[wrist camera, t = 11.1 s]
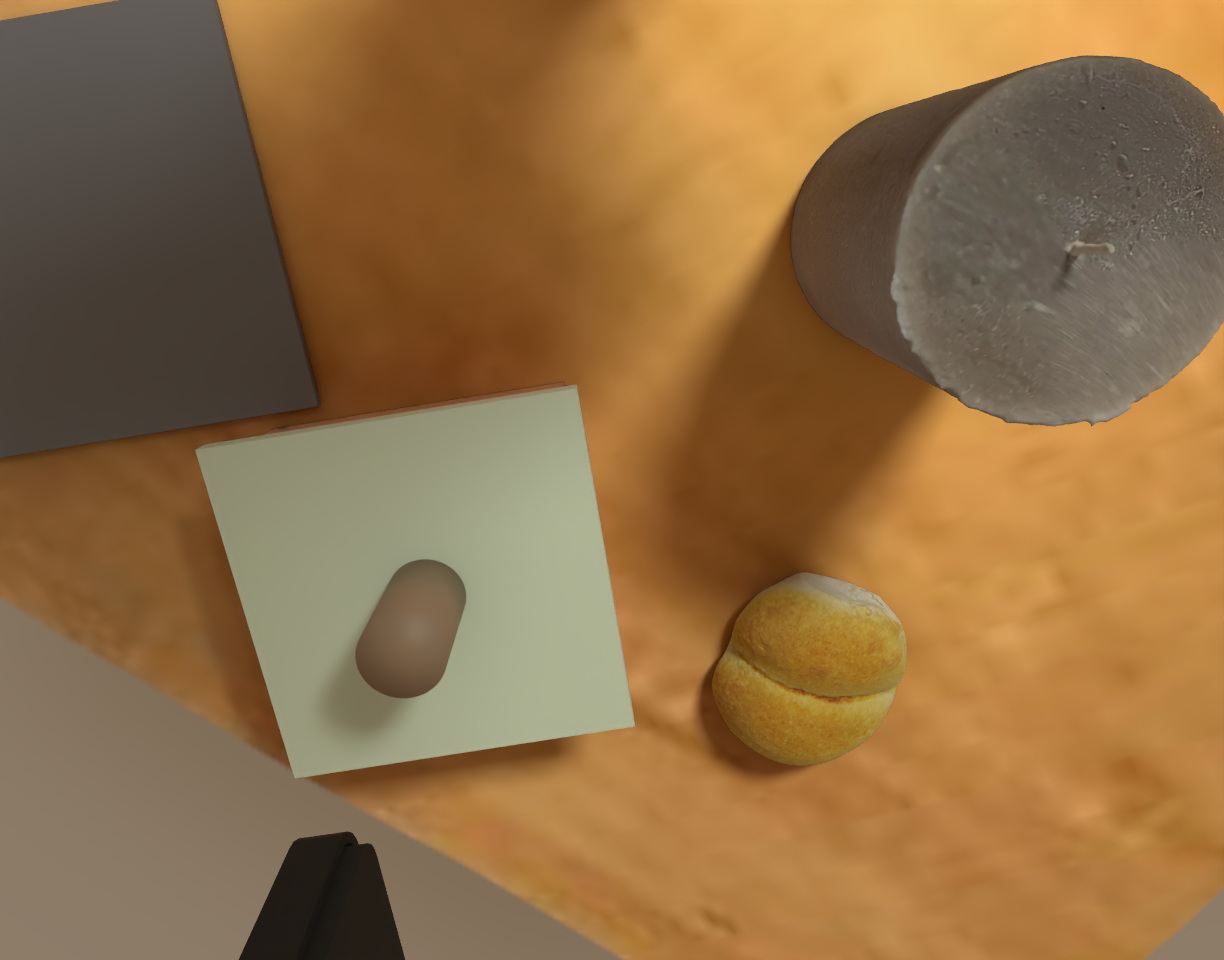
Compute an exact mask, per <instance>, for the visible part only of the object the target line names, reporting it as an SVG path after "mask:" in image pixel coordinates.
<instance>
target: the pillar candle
mask: <svg viewBox="0 0 1224 960" xmlns="http://www.w3.org/2000/svg"><path fill="white" fill-rule="evenodd" d="M791 253H792V260H793V265H794V269H795V274H796V277H797V280H798V282H799V284H800V286H801V289H802V291H803V293H804V295H805V297H806V299H807V300H808V302H809V304H810V305H811V306H812V308H813V309H814V310H815V311H816V313H817V314H818V315H819V316H820V318H821V319H822V320H823V321H825V322H826V323H827V324H828V325H829V326H830V327H831V328H833V329H834V330H835V331H837V332H838V333H839V334H841V335H842V336H844V337H846V338H848V339H850V340H852V341H854V342H855V343H857V344H858V345H860V346H861V347H863V348H866V349H868V350H869V351H871V352H873V353H874V354H876V355H878V356H880V357H882V358H884V359H885V360H887V361H889V362H891V363H893V364H895V365H897V366H899V367H901V368H903V369H905V370H906V371H908V372H910V373H912V374H914V375H916V376H918V377H919V378H921V379H923V380H925V381H927V382H929V383H930V384H932V385H934V386H936V387H938V388H940V389H941V390H944V391H946V392H947V393H948V394H950V395H952V396H954V397H956V398H957V399H958V400H959V401H960V402H961V403H963V404H964V405H966V406H967V407H969V408H973V409H977V410H980V411H982V412H984V413H987V414H989V415H992V416H995V417H998V418H1001V419H1003V420H1004V421H1005V422H1007V423H1023V424H1029V425H1046V426H1058V425H1064V424H1072V423H1077V422H1081V421H1087V422H1089V423H1091V426H1092V425H1093V424H1095V423H1097V422H1107V421H1109V420H1111V419H1113V418H1115V417H1118V416H1120V415H1121V414H1123V413H1124V412H1126V411H1127V410H1128V409H1130V404H1132V403H1133V402H1137V401H1139V400H1141V399H1142V398H1143V397H1146V396H1148V395H1149V394H1150V393H1151V392H1153V391H1154V390H1157V389H1159V388H1161V387H1163V386H1164V385H1165V384H1167V383H1168V381H1169V380H1170V379H1171V378H1173V377H1174V376H1176V375H1177V374H1178V373H1179V372H1180V371H1182V370H1183V368H1185V367H1186V366H1187V365H1188V364H1189V363H1190V362H1191V361H1192V360H1193V359H1194V358H1195V357H1197V356H1198V355H1199V354H1200V353H1201V351H1202V350H1203V349H1204V348H1205V347H1206V346H1207V344H1208V343H1209V341H1210V340H1211V339H1212V338H1213V336H1214V334H1215V333H1216V332H1217V331H1218V330H1219V328H1220V326H1221V324H1222V323H1223V322H1224V116H1223V114H1222V112H1221V111H1220V110H1219V109H1218V107H1217V105H1216V104H1215V103H1214V102H1212V101H1211V100H1210V98H1209V97H1208V96H1207V95H1205V94H1204V93H1203V92H1201V91H1200V90H1199V89H1198V88H1196V87H1195V86H1194V85H1192V84H1191V83H1190V82H1189V81H1187V80H1185V79H1184V78H1182V77H1181V76H1180V75H1177V74H1175V73H1173V72H1170V71H1169V70H1167V69H1163V68H1160V67H1157V66H1154V65H1151V64H1148V63H1145V62H1143V61H1141V60H1138V59H1133V58H1125V57H1112V56H1077V57H1071V58H1065V59H1061V60H1057V61H1053V62H1048V63H1044V64H1041V65H1037V66H1033V67H1030V68H1027V69H1023V70H1020V71H1017V72H1014V73H1011V74H1007V75H1004V76H1001V77H998V78H995V79H991V80H988V81H985V82H981V83H977V84H975V85H971V86H968V87H965V88H962V89H958V90H952V91H948V92H945V93H942V94H939V95H935V96H932V97H930V98H926V99H923V100H920V101H916V102H912V103H909V104H906V105H903V106H900V107H896V108H893V109H890V110H887V111H884V112H882V113H879V114H876V115H874V116H871V117H869V118H867V119H865V120H863V121H862V122H860V123H858V124H857V125H855V126H854V127H852V128H851V129H850V130H848V131H847V132H845V133H844V134H843V135H841V136H840V137H839V138H838V139H837V140H836V141H834V142H833V144H832V145H831V146H830V147H829V148H828V149H827V150H826V151H825V152H824V153H823V155H822V156H821V157H820V158H819V159H818V160H817V161H816V163H815V165H814V166H813V168H812V170H811V171H810V172H809V174H808V176H807V177H806V180H805V182H804V184H803V187H802V189H801V191H800V194H799V197H798V199H797V203H796V206H795V211H794V215H793V221H792V228H791Z"/></svg>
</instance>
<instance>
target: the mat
mask: <svg viewBox="0 0 1224 960" xmlns="http://www.w3.org/2000/svg"><path fill="white" fill-rule="evenodd" d="M319 405H321V404H320V400H319V396H318V392H317V388H316V384H315V380H314V376H313V372H312V369H311V365H310V361H309V357H308V353H307V349H306V345H305V341H304V337H303V333H302V330H301V326H300V322H299V318H298V314H297V310H296V306H295V302H294V298H293V295H292V291H291V287H290V283H289V279H288V275H287V271H286V267H285V263H284V260H283V256H282V252H281V248H280V244H279V240H278V236H277V232H276V228H275V224H274V221H273V217H272V213H271V209H270V205H269V201H268V197H267V193H266V189H265V186H264V182H263V178H262V174H261V170H260V166H259V162H258V158H257V154H256V151H255V147H254V143H253V139H252V135H251V131H250V127H249V123H248V119H247V116H246V112H245V108H244V104H243V100H242V96H241V92H240V88H239V84H238V80H237V77H236V73H235V69H234V65H233V61H232V57H231V53H230V49H229V45H228V42H227V38H226V34H225V30H224V26H223V22H222V18H221V14H220V10H219V7H218V3H217V0H118V1H112V2H106V3H101V4H95V5H89V6H83V7H77V8H71V9H66V10H60V11H54V12H48V13H42V14H36V15H30V16H25V17H19V18H13V19H7V20H1V21H0V458H3V457H9V456H15V455H21V454H27V453H34V452H40V451H46V450H52V449H58V448H64V447H71V446H77V445H83V444H89V443H95V442H102V441H108V440H114V439H120V438H126V437H133V436H139V435H145V434H151V433H157V432H163V431H170V430H176V429H182V428H188V427H194V426H201V425H207V424H213V423H219V422H225V421H232V420H238V419H244V418H250V417H256V416H262V415H269V414H275V413H281V412H287V411H293V410H300V409H306V408H312V407H318V406H319Z"/></svg>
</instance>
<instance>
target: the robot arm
mask: <svg viewBox="0 0 1224 960" xmlns="http://www.w3.org/2000/svg"><path fill="white" fill-rule="evenodd" d="M239 960H405V957H404V954H403V950H402V946H401V943H400V939H399V935H398V932H397V928H396V924H395V921H394V917H393V913H392V910H391V906H390V902H389V899H388V895H387V891H386V888H385V885H384V880H383V877H382V873H381V869H380V866H379V862H378V858H377V855H376V852H375V849H374V847H373V846H372V845H371V844H368V843H367V844H360V845H359V844H358V842H357V839H356V837H355V836H354V835H353V833H351V832H342V833H335V834H328V835H321V836H314V837H307V838H299V839H297V840H296V841H294V842H293V844H292V846H291V847H290V849H289V851H288V853H287V855H286V857H285V860H284V862H283V864H282V866H281V868H280V870H279V873H278V875H277V877H276V879H275V881H274V884H273V886H272V888H271V890H270V892H269V895H268V897H267V899H266V901H265V903H264V905H263V908H262V910H261V912H260V914H259V917H258V919H257V921H256V923H255V926H254V927H253V930H252V932H251V934H250V936H249V938H248V941H247V943H246V945H245V947H244V949H243V952H242V954H241V956H240V958H239Z"/></svg>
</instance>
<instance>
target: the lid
mask: <svg viewBox="0 0 1224 960" xmlns="http://www.w3.org/2000/svg"><path fill="white" fill-rule="evenodd" d="M195 452H196V455H197V458H198V462H199V465H200V468H201V471H202V475H203V478H204V481H205V485H206V488H207V491H208V495H209V498H210V501H211V504H212V508H213V511H214V514H215V518H216V521H217V524H218V528H219V531H220V534H221V537H222V541H223V544H224V547H225V551H226V554H227V557H228V561H229V564H230V567H231V570H232V574H233V577H234V580H235V584H236V587H237V590H238V594H239V597H240V600H241V603H242V607H243V610H244V613H245V617H246V620H247V623H248V627H249V630H250V633H251V636H252V640H253V643H254V646H255V650H256V653H257V656H258V660H259V663H260V666H261V669H262V673H263V676H264V679H265V683H266V686H267V689H268V693H269V696H270V699H271V702H272V706H273V709H274V712H275V716H276V719H277V722H278V726H279V729H280V732H281V735H282V739H283V742H284V745H285V749H286V752H287V755H288V759H289V762H290V765H291V768H292V772H293V775H294V778H295V779H296V778H302V777H309V776H315V775H322V774H328V773H335V772H341V771H348V770H354V769H361V768H367V767H374V766H380V765H387V764H393V763H400V762H406V761H413V760H419V759H426V758H432V757H439V756H445V755H452V754H458V753H465V752H471V751H478V750H484V749H491V748H497V747H504V746H510V745H517V744H523V743H530V742H536V741H543V740H549V739H556V738H562V737H569V736H575V735H582V734H588V733H595V732H601V731H608V730H614V729H621V728H627V727H634V726H635V724H634V714H633V708H632V703H631V697H630V691H629V685H628V679H627V673H626V668H625V662H624V656H623V650H622V644H621V638H620V632H619V627H618V621H617V615H616V609H615V603H614V597H613V592H612V586H611V580H610V574H609V568H608V562H607V557H606V551H605V545H604V539H603V533H602V527H601V522H600V516H599V510H598V504H597V498H596V492H595V486H594V481H593V475H592V469H591V463H590V457H589V451H588V446H587V440H586V434H585V428H584V422H583V416H582V411H581V405H580V399H579V393H578V387H577V384H576V385H570V386H564V387H558V388H552V389H545V390H539V391H533V392H527V393H521V394H514V395H508V396H502V397H496V398H490V399H483V400H477V401H471V402H465V403H459V404H452V405H446V406H440V407H434V408H428V409H421V410H415V411H409V412H403V413H397V414H390V415H384V416H378V417H372V418H366V419H359V420H353V421H347V422H341V423H335V424H328V425H322V426H316V427H310V428H304V429H297V430H291V431H285V432H279V433H273V434H266V435H260V436H254V437H248V438H242V439H235V440H229V441H223V442H217V443H211V444H204V445H202V446H201V447H199V448H198V449H196V450H195Z"/></svg>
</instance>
